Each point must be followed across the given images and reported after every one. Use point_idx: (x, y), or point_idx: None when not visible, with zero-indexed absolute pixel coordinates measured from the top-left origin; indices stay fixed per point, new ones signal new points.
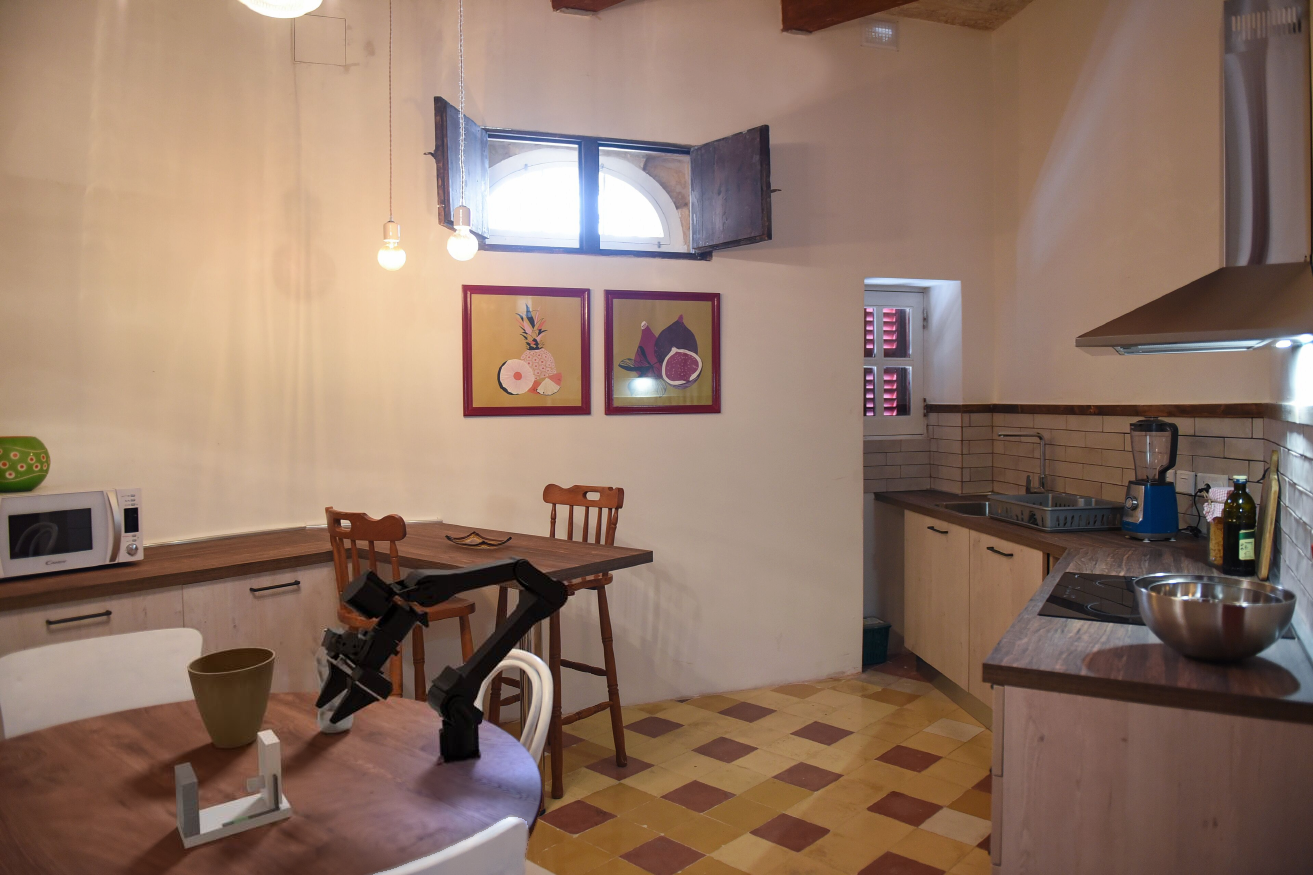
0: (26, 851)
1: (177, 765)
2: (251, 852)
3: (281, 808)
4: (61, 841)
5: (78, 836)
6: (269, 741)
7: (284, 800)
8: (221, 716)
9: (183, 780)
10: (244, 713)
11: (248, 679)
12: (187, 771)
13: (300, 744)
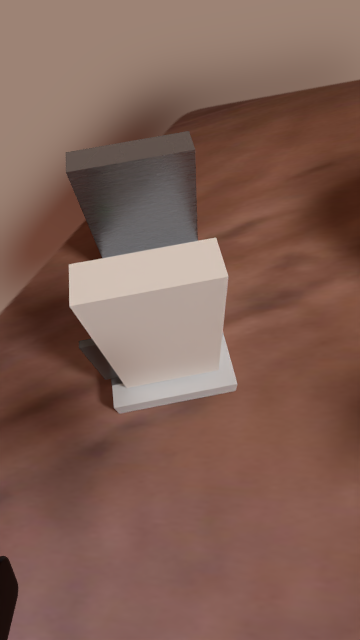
0: (213, 114)
1: (187, 135)
2: (19, 340)
3: (119, 387)
4: (222, 134)
5: (227, 144)
6: (95, 274)
7: (157, 395)
8: None
9: (90, 152)
10: None
11: None
12: (138, 152)
13: None
